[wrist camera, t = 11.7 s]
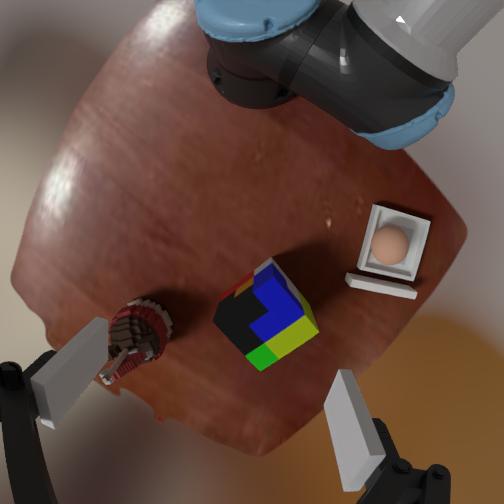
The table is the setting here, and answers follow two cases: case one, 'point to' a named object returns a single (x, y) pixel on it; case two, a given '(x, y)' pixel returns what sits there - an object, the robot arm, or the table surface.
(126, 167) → the table surface
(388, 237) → the ball
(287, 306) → the puzzle toy
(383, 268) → the light gray square tray
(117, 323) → the cake
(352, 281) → the low wall
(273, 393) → the table surface
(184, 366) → the table surface
